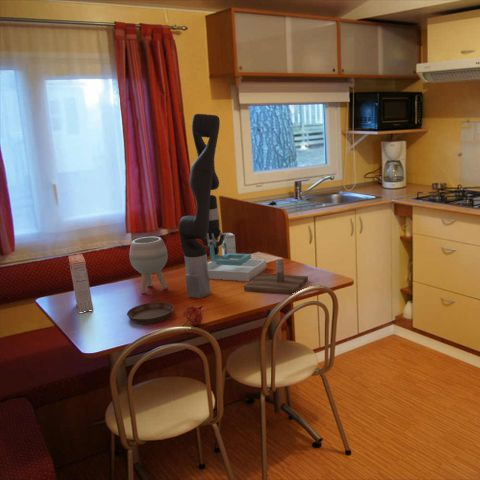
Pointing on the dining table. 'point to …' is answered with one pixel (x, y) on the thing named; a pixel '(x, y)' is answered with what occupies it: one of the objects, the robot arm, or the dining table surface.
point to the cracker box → (80, 282)
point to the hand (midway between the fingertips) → (214, 254)
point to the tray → (236, 270)
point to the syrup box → (228, 244)
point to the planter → (148, 259)
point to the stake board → (276, 282)
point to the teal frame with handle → (224, 258)
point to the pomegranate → (193, 315)
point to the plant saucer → (150, 312)
